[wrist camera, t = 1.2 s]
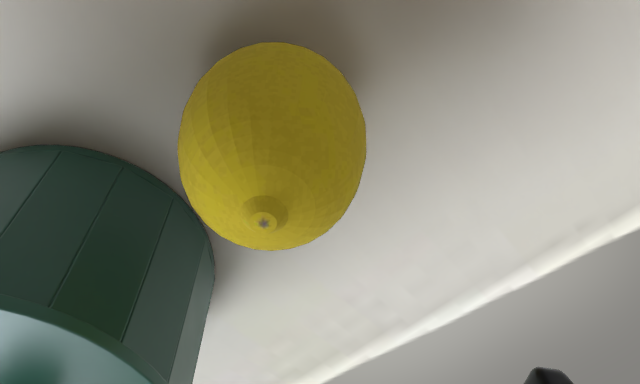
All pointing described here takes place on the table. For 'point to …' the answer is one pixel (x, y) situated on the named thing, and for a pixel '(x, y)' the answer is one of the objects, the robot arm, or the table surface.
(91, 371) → the pot lid
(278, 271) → the table surface
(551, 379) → the robot arm
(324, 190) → the lemon
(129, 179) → the pot
